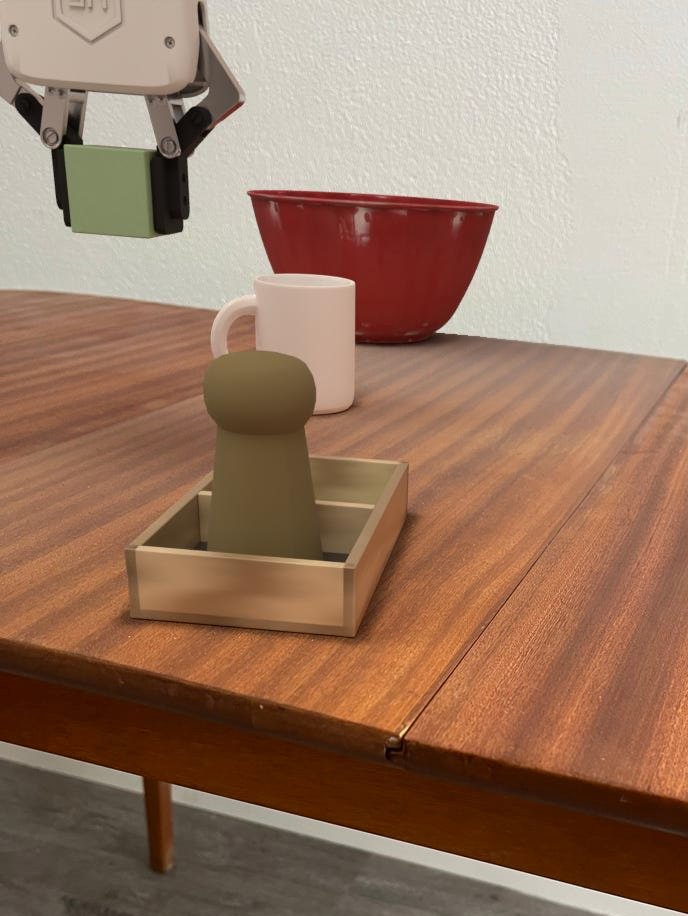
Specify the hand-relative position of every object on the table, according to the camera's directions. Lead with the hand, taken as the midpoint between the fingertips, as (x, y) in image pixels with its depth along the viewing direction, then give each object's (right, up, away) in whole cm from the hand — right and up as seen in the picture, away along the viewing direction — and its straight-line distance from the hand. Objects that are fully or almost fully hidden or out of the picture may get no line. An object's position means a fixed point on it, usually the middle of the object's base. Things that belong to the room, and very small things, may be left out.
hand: (125, 225), depth 60 cm
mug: (+4, -4, +29) cm, 29 cm away
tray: (+10, -20, -3) cm, 22 cm away
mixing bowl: (+8, +13, +64) cm, 66 cm away
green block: (0, 0, 0) cm, 0 cm away
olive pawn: (+10, -21, -8) cm, 24 cm away
